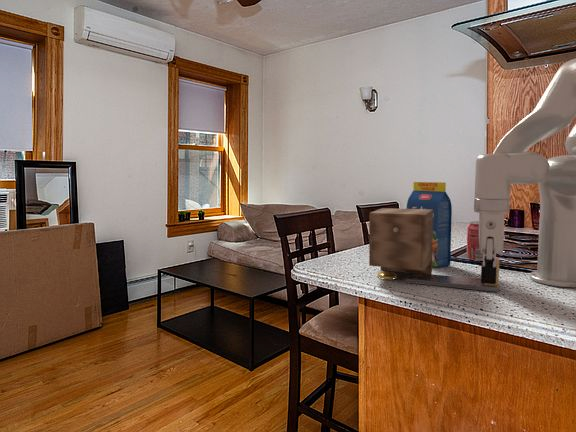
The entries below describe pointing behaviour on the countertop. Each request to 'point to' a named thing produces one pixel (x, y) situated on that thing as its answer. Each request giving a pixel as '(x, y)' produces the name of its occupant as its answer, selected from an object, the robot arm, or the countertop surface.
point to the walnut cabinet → (401, 239)
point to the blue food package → (435, 217)
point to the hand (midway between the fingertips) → (488, 280)
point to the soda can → (473, 242)
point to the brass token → (387, 275)
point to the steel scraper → (454, 281)
